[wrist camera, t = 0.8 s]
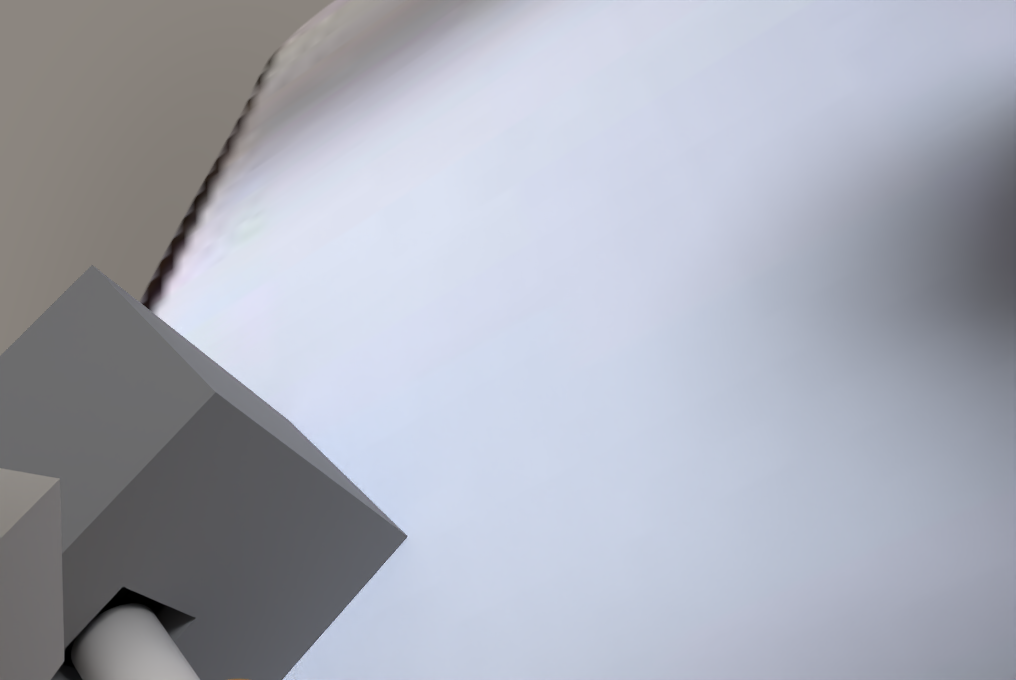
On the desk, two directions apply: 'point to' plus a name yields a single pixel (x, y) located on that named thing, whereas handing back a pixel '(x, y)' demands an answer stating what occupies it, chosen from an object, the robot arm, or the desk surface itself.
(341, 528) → the housing
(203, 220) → the desk surface
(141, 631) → the knob
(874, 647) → the desk surface
